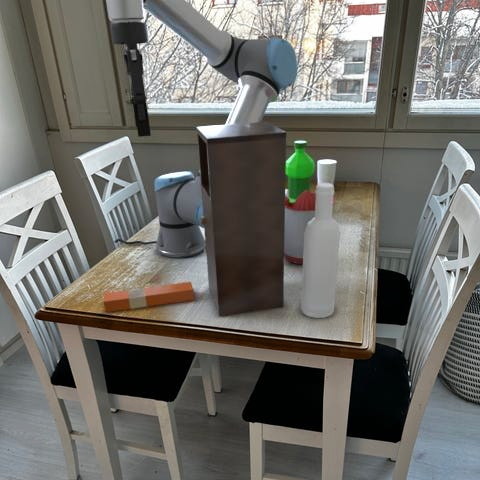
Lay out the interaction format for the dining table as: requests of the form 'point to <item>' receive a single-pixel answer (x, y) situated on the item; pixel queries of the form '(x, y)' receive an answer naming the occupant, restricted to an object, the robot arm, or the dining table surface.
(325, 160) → the white cup
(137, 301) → the block
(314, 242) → the bottle
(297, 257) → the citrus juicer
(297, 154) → the plastic bottle
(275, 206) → the cupboard
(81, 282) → the dining table surface
